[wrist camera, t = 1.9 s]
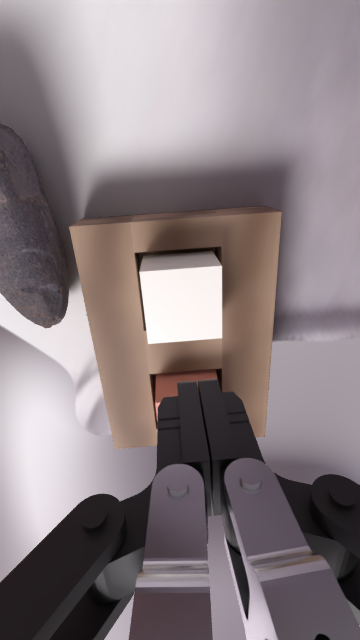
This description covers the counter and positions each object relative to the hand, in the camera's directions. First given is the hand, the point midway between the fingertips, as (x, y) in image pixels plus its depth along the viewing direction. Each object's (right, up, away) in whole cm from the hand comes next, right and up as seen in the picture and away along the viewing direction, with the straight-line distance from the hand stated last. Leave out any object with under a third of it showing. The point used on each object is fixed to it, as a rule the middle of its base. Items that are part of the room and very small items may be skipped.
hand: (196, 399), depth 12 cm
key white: (-1, +6, +12) cm, 13 cm away
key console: (0, +2, +17) cm, 17 cm away
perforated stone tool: (-12, +11, +12) cm, 20 cm away
